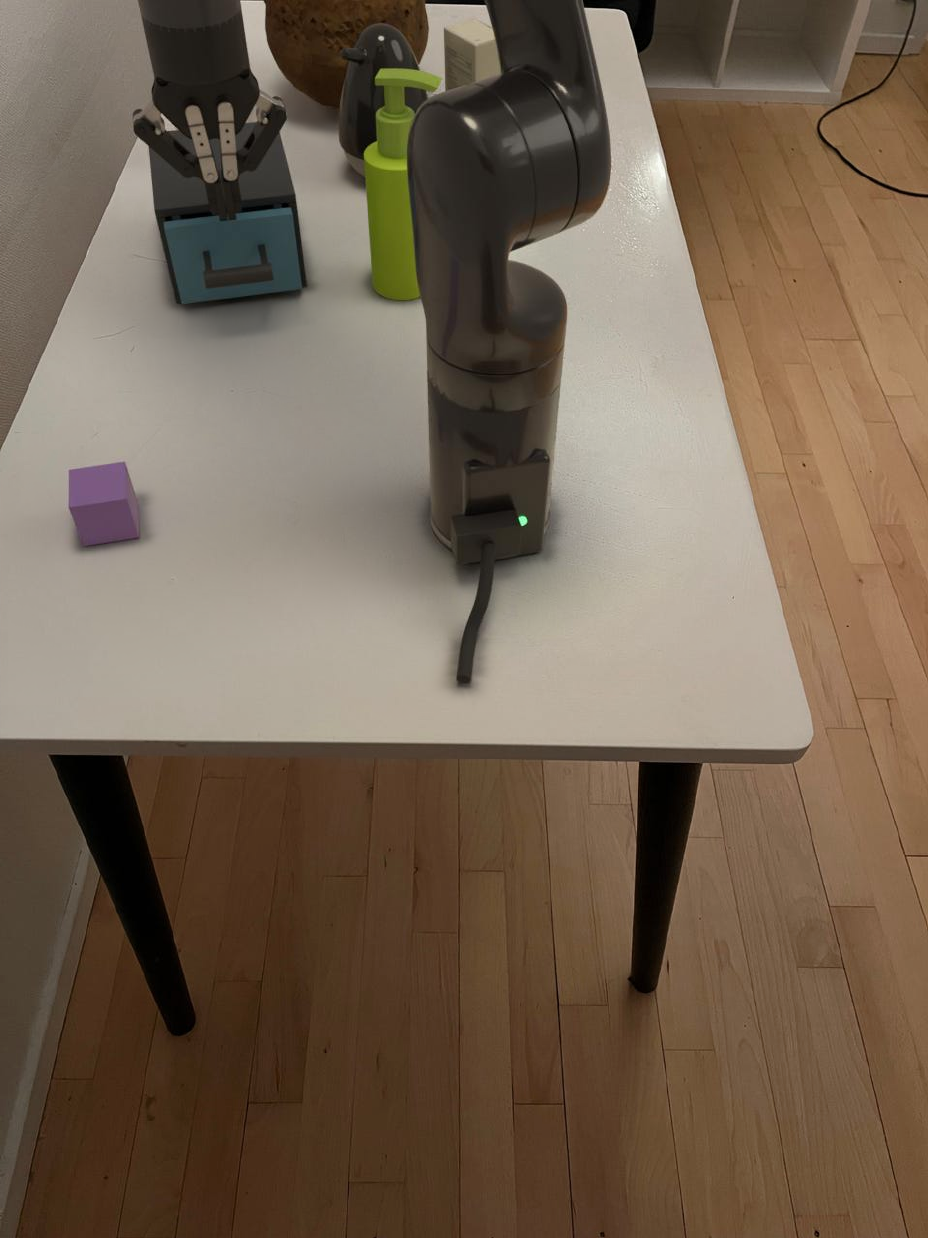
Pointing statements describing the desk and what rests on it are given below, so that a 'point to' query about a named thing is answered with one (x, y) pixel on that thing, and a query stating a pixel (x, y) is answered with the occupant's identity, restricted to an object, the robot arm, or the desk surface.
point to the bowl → (333, 38)
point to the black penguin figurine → (371, 87)
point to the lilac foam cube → (103, 503)
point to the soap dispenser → (393, 187)
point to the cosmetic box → (469, 53)
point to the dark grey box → (191, 196)
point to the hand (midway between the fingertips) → (227, 215)
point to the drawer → (234, 253)
